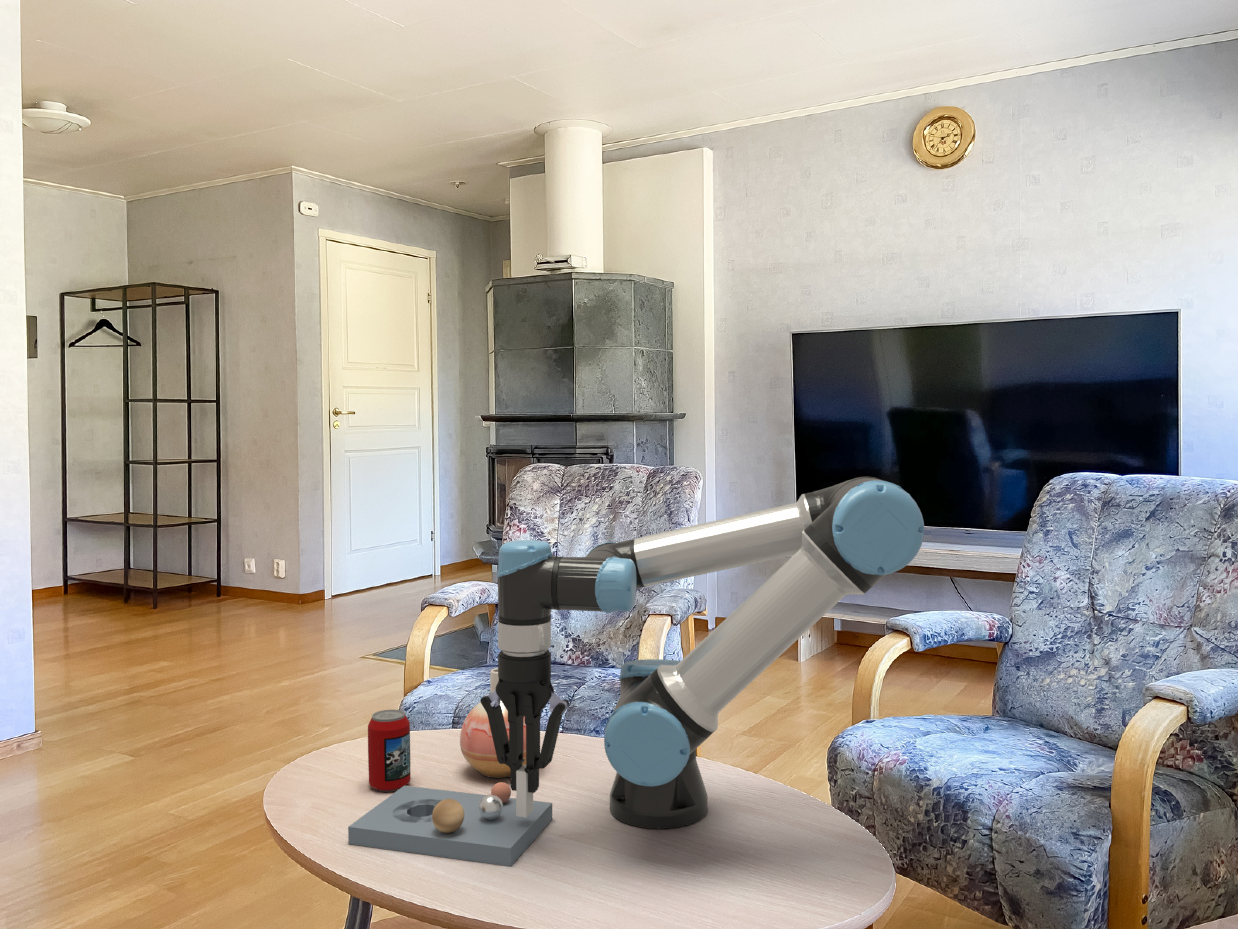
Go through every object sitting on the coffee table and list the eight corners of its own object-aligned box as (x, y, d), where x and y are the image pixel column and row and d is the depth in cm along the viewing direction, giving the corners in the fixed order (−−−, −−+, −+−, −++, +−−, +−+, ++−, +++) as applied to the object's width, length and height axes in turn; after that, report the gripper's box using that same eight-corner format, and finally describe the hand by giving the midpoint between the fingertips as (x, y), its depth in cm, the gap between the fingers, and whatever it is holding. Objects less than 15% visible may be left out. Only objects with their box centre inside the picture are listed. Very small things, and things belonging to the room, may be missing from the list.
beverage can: (400, 795, 155) (399, 721, 155) (361, 792, 156) (360, 719, 156) (417, 780, 162) (416, 709, 161) (379, 777, 163) (378, 707, 162)
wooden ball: (469, 827, 137) (469, 795, 137) (455, 840, 133) (455, 808, 133) (441, 823, 138) (440, 792, 138) (426, 836, 134) (425, 804, 134)
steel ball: (506, 815, 141) (506, 792, 141) (497, 825, 137) (496, 801, 137) (484, 813, 142) (484, 789, 142) (474, 822, 138) (474, 798, 138)
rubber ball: (514, 799, 147) (514, 780, 147) (506, 807, 144) (506, 787, 144) (496, 797, 148) (495, 778, 147) (487, 805, 145) (487, 785, 145)
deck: (552, 819, 146) (552, 802, 145) (510, 866, 130) (510, 848, 130) (404, 801, 153) (404, 785, 153) (348, 844, 137) (348, 826, 137)
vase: (498, 752, 175) (497, 656, 174) (556, 768, 167) (555, 667, 166) (443, 775, 164) (441, 672, 163) (503, 793, 156) (501, 685, 155)
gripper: (576, 647, 139) (576, 808, 140) (493, 641, 142) (493, 798, 143) (558, 660, 131) (558, 829, 133) (471, 653, 135) (471, 818, 136)
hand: (524, 813), depth 138 cm, fingers closed
